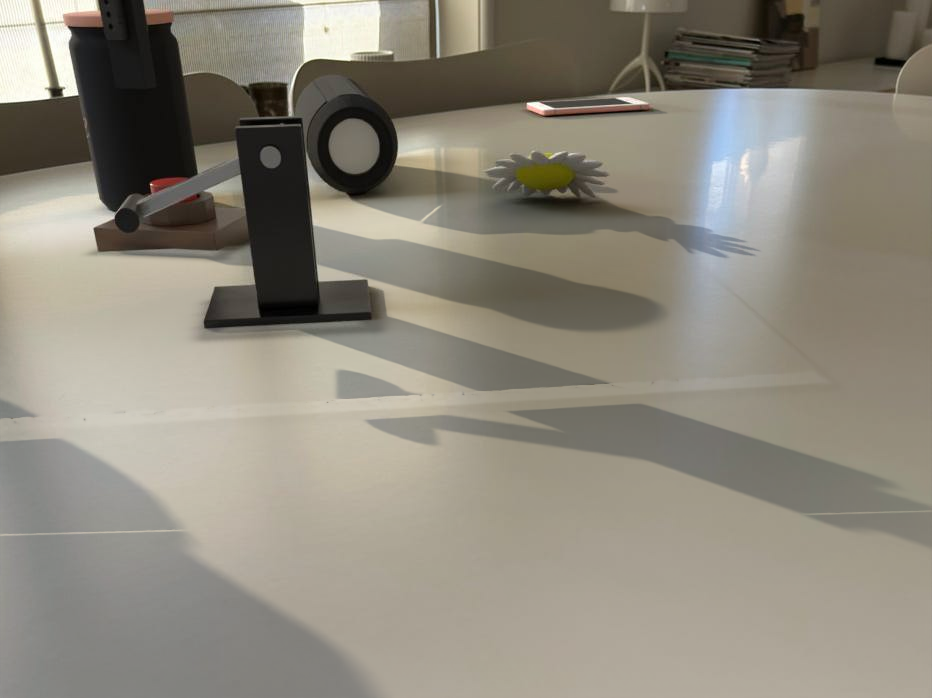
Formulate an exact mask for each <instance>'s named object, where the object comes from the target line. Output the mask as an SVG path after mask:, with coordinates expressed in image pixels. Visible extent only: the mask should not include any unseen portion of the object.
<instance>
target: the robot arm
mask: <svg viewBox="0 0 932 698" xmlns="http://www.w3.org/2000/svg"><path fill="white" fill-rule="evenodd" d="M97 1H98V3H97V4H98V7H99V11H100V13H101V16H102V17H101V19H102V22H103V30H104V33H105V36H106V38H107V42H108V48H109V53H110V59H111V64H112V70H113V75H114V80H115V86H116V88H124V89H149V88H153V87H157V86H156V79H155V73H154V67H153V61H152V55H151V49H150V43H149V37H148V25H147V20H146V14H145V9H146V7H145V1H144V0H97Z"/></svg>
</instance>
